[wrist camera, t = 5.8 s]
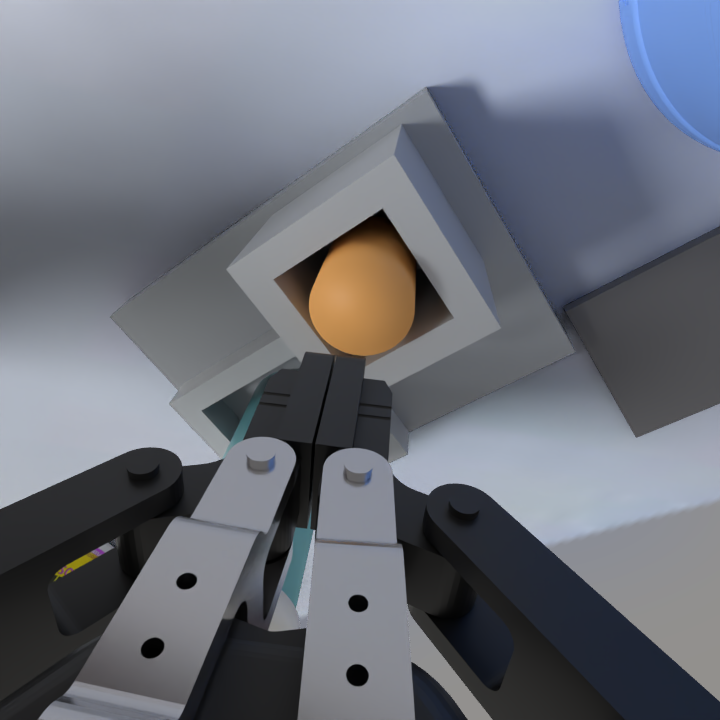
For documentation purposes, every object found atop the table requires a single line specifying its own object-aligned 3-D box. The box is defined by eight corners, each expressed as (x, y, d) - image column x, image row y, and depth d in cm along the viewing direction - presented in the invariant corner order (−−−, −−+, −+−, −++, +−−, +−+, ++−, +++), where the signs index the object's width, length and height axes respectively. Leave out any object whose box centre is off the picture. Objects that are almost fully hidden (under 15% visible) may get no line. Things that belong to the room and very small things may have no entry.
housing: (127, 301, 31) (29, 388, 24) (426, 87, 25) (427, 110, 17) (283, 474, 36) (244, 593, 29) (566, 334, 30) (616, 439, 22)
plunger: (312, 246, 24) (287, 293, 19) (385, 198, 23) (376, 237, 18) (361, 313, 25) (348, 372, 21) (433, 272, 24) (434, 324, 19)
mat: (563, 306, 29) (565, 311, 29) (751, 210, 26) (757, 214, 26) (632, 431, 32) (636, 437, 32) (807, 358, 29) (814, 364, 29)
